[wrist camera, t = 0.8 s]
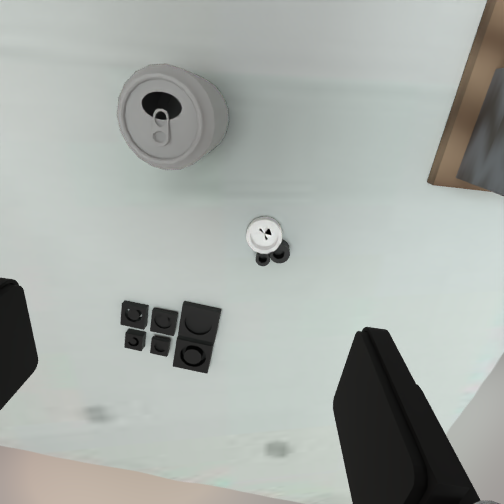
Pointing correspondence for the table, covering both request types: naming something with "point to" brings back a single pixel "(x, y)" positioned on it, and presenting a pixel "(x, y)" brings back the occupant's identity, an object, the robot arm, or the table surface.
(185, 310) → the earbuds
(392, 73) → the table surface
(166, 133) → the can
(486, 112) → the block
